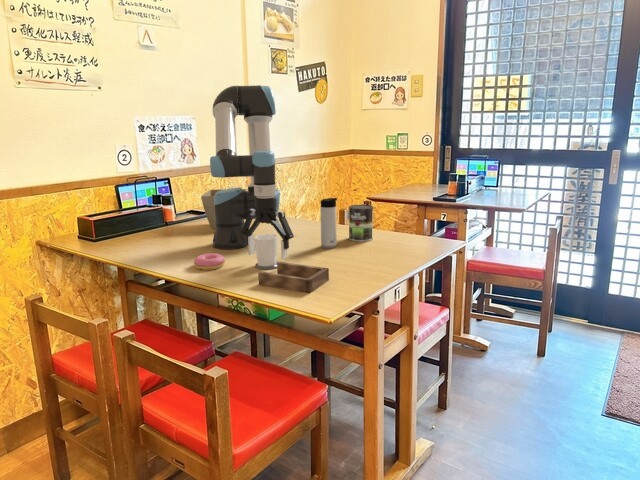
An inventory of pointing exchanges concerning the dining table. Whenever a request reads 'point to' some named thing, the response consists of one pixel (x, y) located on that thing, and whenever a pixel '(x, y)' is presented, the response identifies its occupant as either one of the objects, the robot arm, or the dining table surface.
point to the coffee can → (360, 223)
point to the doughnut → (209, 261)
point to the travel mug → (328, 223)
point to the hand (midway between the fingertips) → (267, 255)
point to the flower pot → (211, 206)
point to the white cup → (266, 249)
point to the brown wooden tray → (295, 277)
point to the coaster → (267, 267)
